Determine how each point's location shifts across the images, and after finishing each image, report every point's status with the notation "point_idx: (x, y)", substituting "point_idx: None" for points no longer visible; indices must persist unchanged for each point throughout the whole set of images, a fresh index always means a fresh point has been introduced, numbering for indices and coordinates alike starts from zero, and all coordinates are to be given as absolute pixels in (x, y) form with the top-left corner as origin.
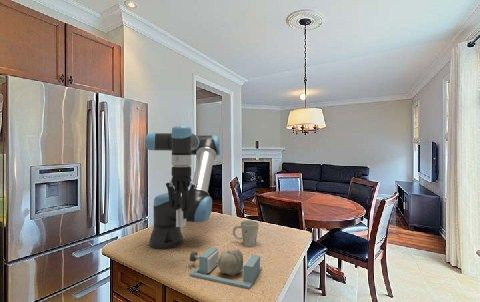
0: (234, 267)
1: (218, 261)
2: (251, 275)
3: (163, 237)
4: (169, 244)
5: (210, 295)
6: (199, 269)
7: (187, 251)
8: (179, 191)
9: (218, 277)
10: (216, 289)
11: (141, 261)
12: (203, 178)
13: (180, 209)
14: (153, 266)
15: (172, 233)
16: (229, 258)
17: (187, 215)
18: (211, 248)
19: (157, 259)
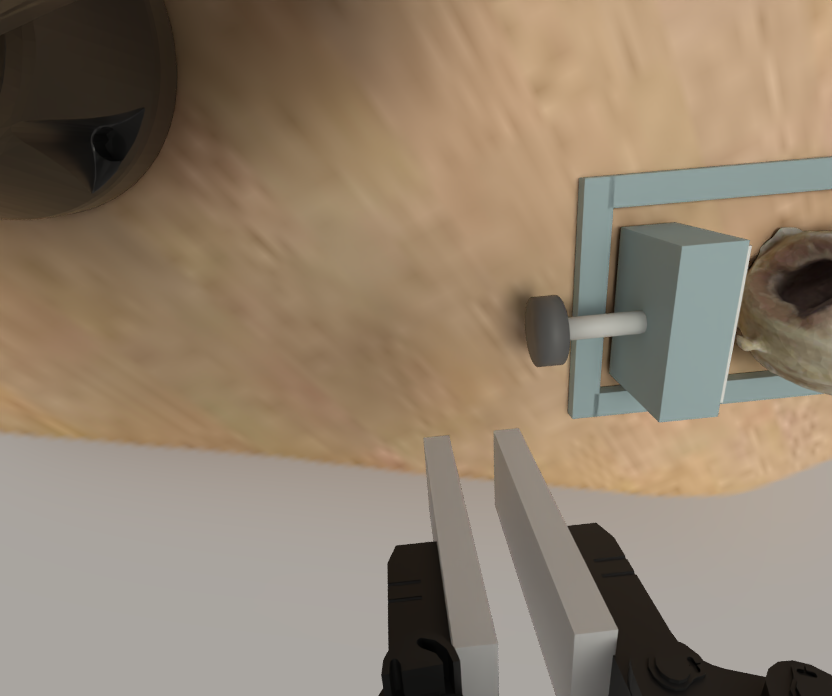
0: None
1: (769, 355)
2: None
3: (48, 183)
4: (142, 155)
5: (732, 487)
6: (618, 381)
7: (341, 129)
8: None
9: (740, 381)
10: (745, 444)
11: (181, 412)
12: None
13: (497, 676)
14: (305, 423)
15: (71, 91)
16: None
17: (625, 569)
18: (697, 267)
19: (246, 347)
